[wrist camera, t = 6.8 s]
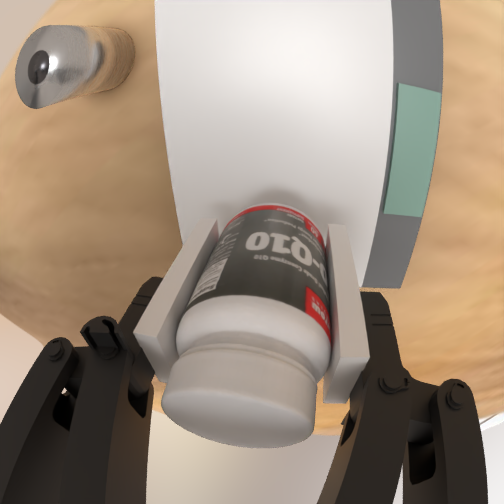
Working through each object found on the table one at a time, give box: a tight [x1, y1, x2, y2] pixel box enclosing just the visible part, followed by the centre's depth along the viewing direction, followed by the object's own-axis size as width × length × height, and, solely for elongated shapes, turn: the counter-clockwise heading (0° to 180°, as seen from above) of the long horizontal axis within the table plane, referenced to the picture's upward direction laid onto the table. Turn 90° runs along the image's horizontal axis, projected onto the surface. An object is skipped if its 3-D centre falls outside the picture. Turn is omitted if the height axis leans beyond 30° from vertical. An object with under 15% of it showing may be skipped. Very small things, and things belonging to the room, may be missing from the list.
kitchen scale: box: [155, 0, 443, 288], centre depth 14 cm, size 14×18×3 cm
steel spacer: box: [15, 25, 135, 109], centre depth 10 cm, size 4×4×6 cm
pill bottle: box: [161, 203, 331, 448], centre depth 10 cm, size 5×5×8 cm
